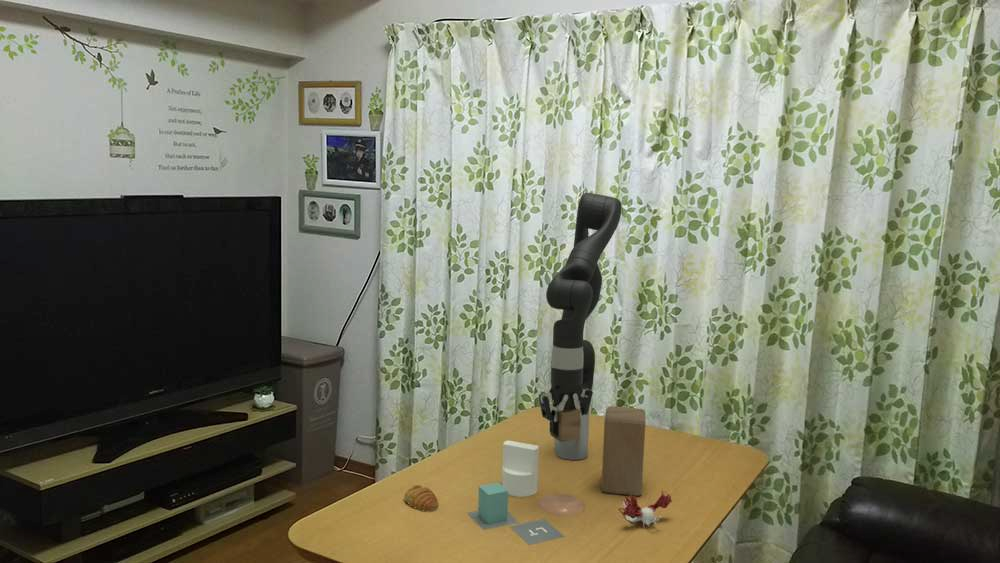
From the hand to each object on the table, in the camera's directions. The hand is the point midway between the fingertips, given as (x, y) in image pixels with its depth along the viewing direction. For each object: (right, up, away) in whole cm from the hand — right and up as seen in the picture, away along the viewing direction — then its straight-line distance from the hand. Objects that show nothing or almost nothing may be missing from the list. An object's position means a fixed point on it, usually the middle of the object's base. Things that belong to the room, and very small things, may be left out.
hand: (564, 433), depth 170 cm
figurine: (+17, -20, -4) cm, 27 cm away
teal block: (-17, -18, -5) cm, 25 cm away
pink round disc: (-1, -18, +3) cm, 18 cm away
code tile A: (-7, -20, -11) cm, 24 cm away
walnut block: (0, -1, 0) cm, 1 cm away
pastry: (-34, -18, +2) cm, 38 cm away
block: (+16, -17, +14) cm, 27 cm away
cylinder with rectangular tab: (-10, -17, +11) cm, 23 cm away
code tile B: (-17, -19, -5) cm, 26 cm away
